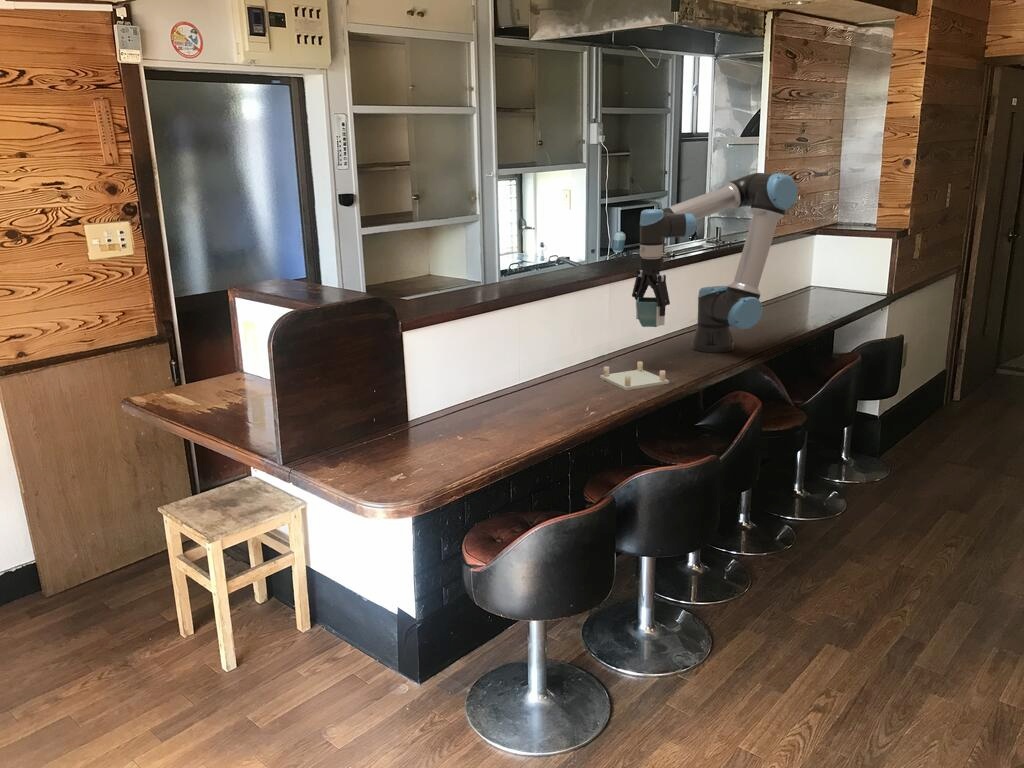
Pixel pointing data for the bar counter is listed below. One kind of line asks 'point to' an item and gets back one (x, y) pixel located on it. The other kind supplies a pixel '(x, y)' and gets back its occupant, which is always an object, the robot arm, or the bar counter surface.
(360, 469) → the bar counter surface
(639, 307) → the flower pot
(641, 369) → the pot stand
